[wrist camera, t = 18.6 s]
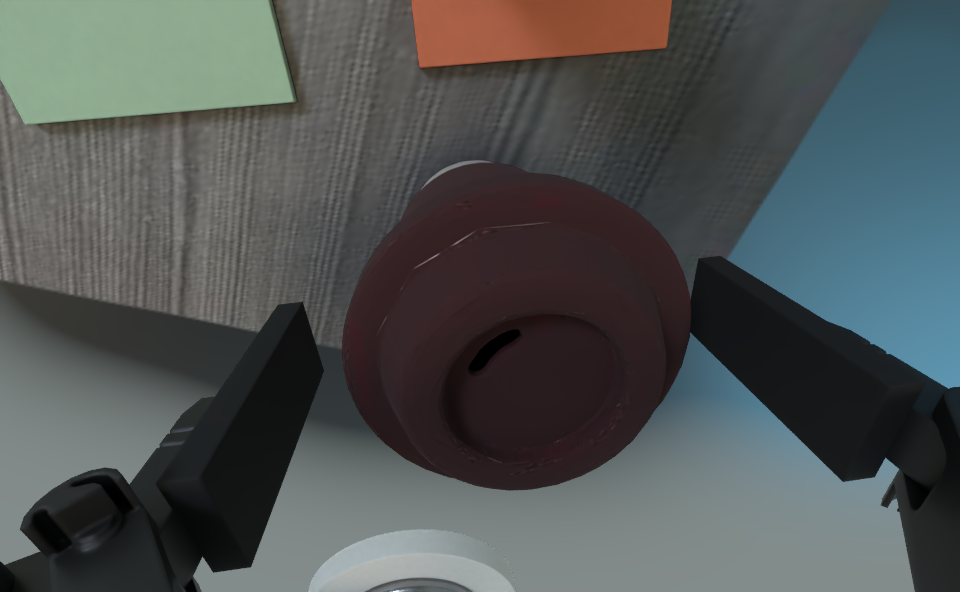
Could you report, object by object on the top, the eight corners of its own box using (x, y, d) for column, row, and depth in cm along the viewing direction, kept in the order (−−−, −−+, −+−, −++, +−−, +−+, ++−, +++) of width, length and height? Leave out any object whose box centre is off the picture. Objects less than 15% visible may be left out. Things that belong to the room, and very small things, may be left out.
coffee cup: (567, 283, 26) (716, 487, 13) (412, 318, 26) (396, 562, 12) (549, 113, 21) (753, 150, 8) (361, 154, 21) (252, 260, 8)
